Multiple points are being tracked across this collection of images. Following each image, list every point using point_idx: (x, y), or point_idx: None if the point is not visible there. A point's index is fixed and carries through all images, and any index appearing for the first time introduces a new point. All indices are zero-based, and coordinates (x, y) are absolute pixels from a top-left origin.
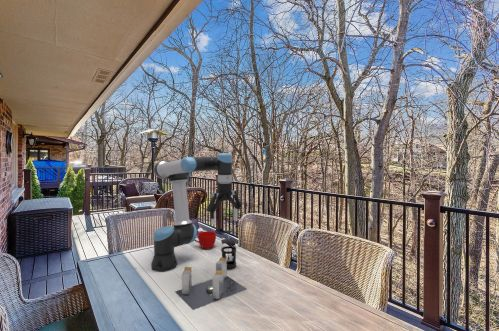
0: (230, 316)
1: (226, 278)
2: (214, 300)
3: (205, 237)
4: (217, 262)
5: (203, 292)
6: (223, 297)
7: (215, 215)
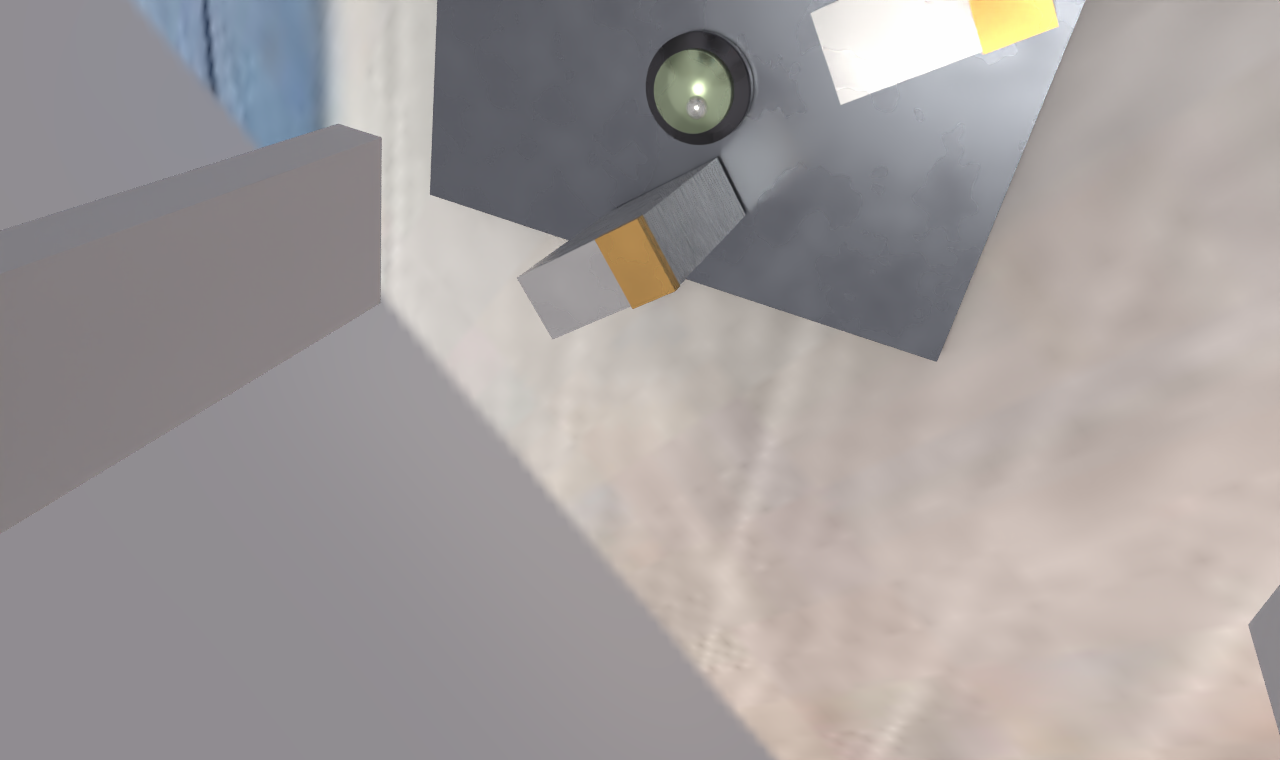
0: (587, 419)
1: None
2: None
3: None
4: (846, 8)
5: (625, 55)
6: None
7: (97, 465)
